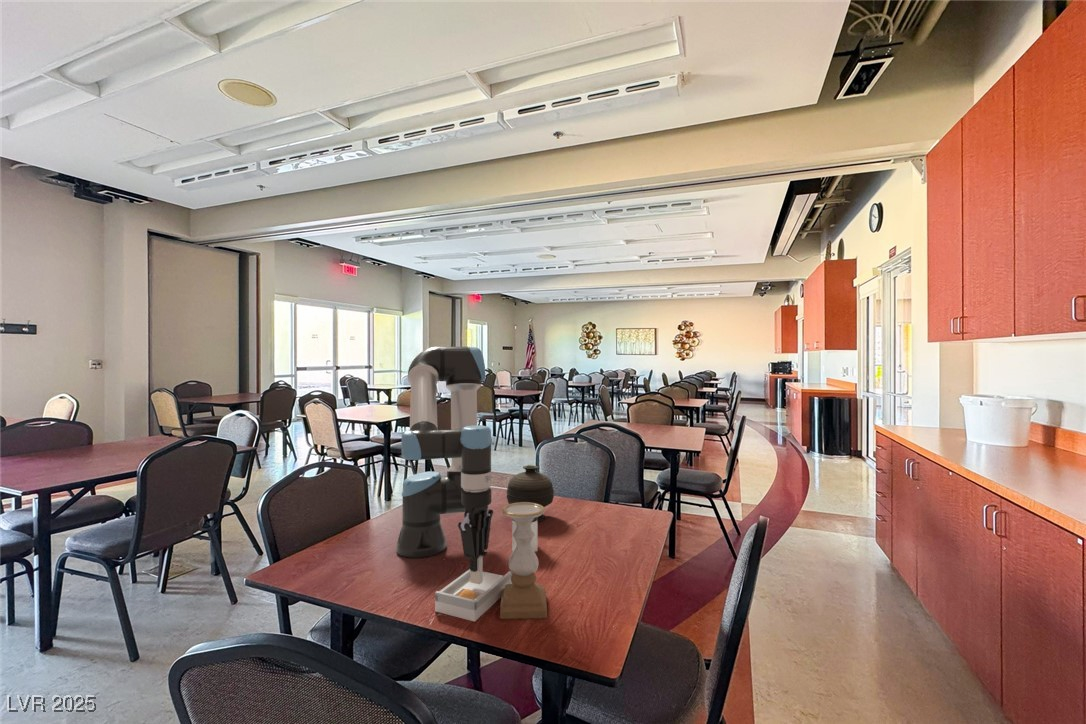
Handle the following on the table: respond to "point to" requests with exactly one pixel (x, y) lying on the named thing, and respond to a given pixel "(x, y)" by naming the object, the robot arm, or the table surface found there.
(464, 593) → the ball
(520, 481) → the pot
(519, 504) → the candle holder
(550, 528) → the table surface
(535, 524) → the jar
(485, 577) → the tray
